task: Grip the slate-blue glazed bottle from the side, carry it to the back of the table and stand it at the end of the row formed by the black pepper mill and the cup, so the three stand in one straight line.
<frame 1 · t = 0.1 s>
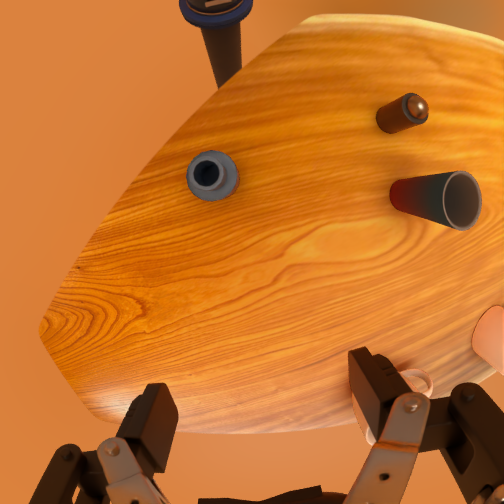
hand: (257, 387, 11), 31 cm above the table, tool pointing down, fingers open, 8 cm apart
cup: (402, 195, 41), on the table
bottle: (220, 179, 40), on the table
mug: (375, 376, 47), on the table
pepper mill: (388, 120, 38), on the table
cup 2: (488, 329, 47), on the table
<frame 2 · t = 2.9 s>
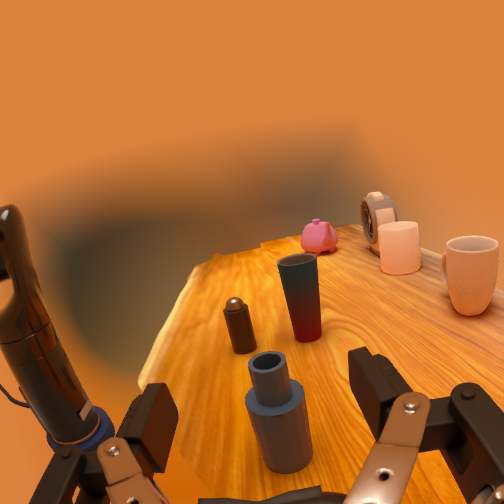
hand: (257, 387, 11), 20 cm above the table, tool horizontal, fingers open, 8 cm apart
cup: (308, 336, 53), on the table
alarm clock: (382, 252, 93), on the table
bottle: (288, 455, 26), on the table
mug: (466, 307, 45), on the table
teapot: (322, 252, 109), on the table
pepper mill: (245, 347, 53), on the table
cup 2: (401, 268, 74), on the table
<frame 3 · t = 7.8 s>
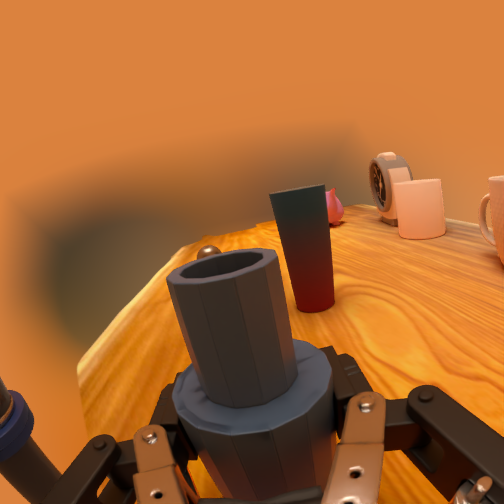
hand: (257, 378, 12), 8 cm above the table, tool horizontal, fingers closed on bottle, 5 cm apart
cup: (315, 305, 38), on the table
alarm clock: (396, 222, 77), on the table
teapot: (325, 226, 94), on the table
cup 2: (422, 234, 59), on the table
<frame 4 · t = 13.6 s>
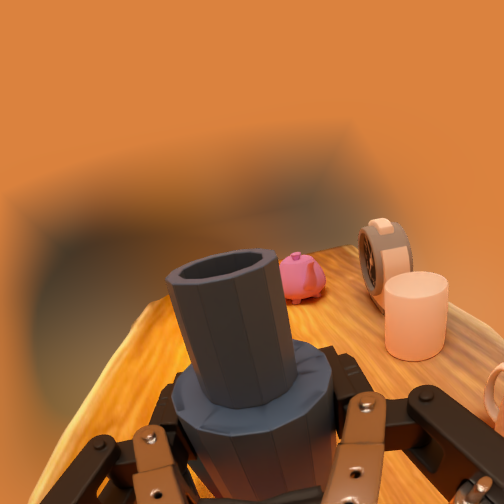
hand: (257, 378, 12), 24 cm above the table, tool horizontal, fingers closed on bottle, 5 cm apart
cup: (245, 500, 24), on the table
alarm clock: (386, 304, 64), on the table
teapot: (303, 297, 80), on the table
cup 2: (414, 344, 46), on the table
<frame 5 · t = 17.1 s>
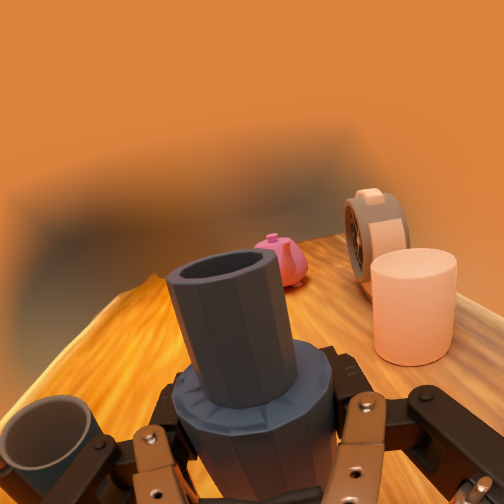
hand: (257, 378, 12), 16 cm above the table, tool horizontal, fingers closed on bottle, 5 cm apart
alarm clock: (379, 294, 53), on the table
teapot: (282, 286, 70), on the table
cup 2: (412, 343, 35), on the table
when the fingers open (8 cm above the table, at t = 19.8 s): bottle stays where it is, on the table.
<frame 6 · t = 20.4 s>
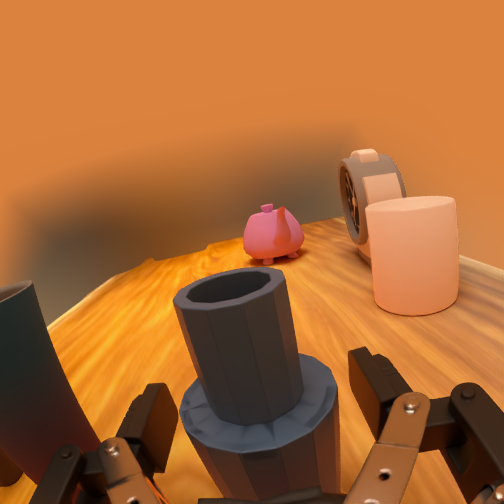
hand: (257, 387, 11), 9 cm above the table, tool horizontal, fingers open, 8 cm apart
alarm clock: (378, 259, 52), on the table
teapot: (278, 258, 68), on the table
pepper mill: (7, 470, 12), on the table
cup 2: (416, 296, 33), on the table
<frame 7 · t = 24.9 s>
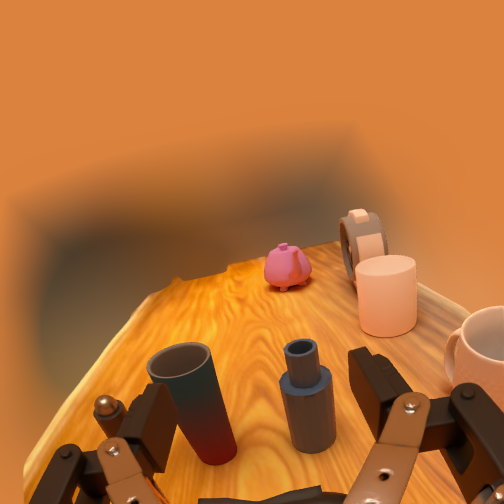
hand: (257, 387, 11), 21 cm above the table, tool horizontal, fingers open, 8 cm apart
cup: (218, 452, 30), on the table
alarm clock: (367, 289, 70), on the table
bottle: (314, 437, 30), on the table
mug: (476, 417, 22), on the table
teapot: (291, 285, 87), on the table
pepper mill: (135, 451, 31), on the table
cup 2: (388, 323, 52), on the table
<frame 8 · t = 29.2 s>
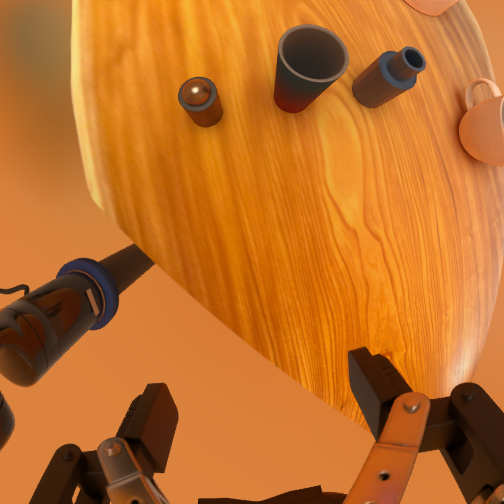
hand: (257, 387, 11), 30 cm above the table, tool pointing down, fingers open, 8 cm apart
cup: (291, 97, 37), on the table
bottle: (368, 91, 36), on the table
mug: (468, 131, 37), on the table
pepper mill: (206, 112, 37), on the table
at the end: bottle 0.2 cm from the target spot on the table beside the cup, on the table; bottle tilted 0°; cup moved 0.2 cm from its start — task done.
